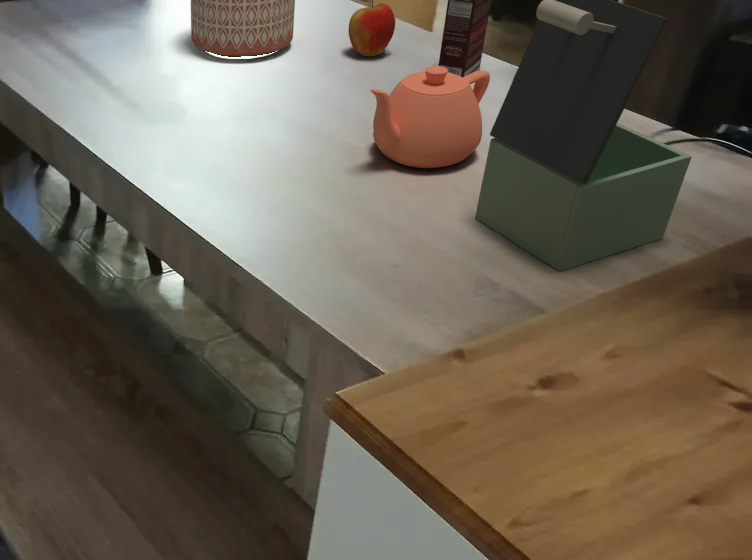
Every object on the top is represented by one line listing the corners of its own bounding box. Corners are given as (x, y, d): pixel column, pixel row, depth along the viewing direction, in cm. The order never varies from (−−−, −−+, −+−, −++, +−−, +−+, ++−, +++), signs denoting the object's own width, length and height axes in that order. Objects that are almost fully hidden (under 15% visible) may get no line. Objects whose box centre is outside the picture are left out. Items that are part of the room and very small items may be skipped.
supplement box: (453, 66, 163) (469, -32, 153) (480, 71, 161) (498, -29, 150) (433, 82, 158) (449, -19, 148) (460, 87, 156) (478, -15, 145)
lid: (559, -18, 105) (517, -28, 102) (669, 19, 95) (625, 8, 91) (493, 135, 115) (452, 130, 112) (586, 184, 104) (543, 180, 101)
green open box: (572, 189, 127) (593, 111, 120) (662, 238, 116) (692, 156, 109) (474, 217, 122) (490, 138, 115) (559, 271, 112) (582, 188, 104)
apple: (365, 65, 166) (372, 5, 159) (337, 52, 171) (342, -6, 164) (400, 55, 168) (408, -3, 162) (372, 43, 174) (378, -14, 167)
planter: (239, 23, 186) (241, -59, 176) (313, 43, 175) (319, -42, 165) (170, 48, 177) (168, -37, 167) (243, 71, 166) (245, -18, 156)
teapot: (395, 192, 129) (407, 104, 121) (328, 154, 139) (335, 70, 131) (512, 153, 136) (531, 68, 128) (441, 120, 146) (454, 39, 138)
